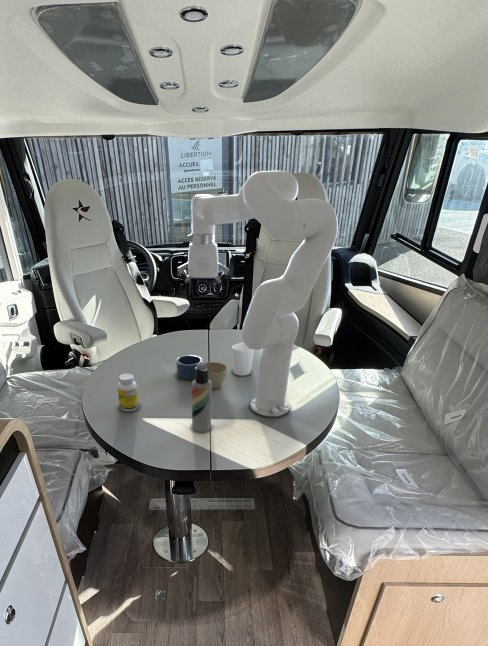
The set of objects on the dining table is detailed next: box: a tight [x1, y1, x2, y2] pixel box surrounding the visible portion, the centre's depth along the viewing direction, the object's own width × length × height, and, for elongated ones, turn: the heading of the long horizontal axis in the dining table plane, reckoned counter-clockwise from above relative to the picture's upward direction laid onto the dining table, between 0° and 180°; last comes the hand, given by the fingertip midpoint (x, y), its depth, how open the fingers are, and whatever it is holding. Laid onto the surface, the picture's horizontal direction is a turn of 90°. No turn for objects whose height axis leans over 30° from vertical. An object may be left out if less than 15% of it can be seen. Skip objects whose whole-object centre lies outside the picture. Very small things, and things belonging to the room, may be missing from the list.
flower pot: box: [202, 361, 228, 390], centre depth 156 cm, size 10×10×7 cm
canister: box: [175, 354, 203, 381], centre depth 164 cm, size 9×9×6 cm
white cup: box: [232, 342, 255, 377], centre depth 165 cm, size 8×8×10 cm
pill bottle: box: [117, 373, 139, 412], centre depth 142 cm, size 6×6×11 cm
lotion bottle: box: [191, 363, 213, 433], centre depth 129 cm, size 6×6×20 cm
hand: (203, 294), depth 153 cm, fingers open, 9 cm apart
